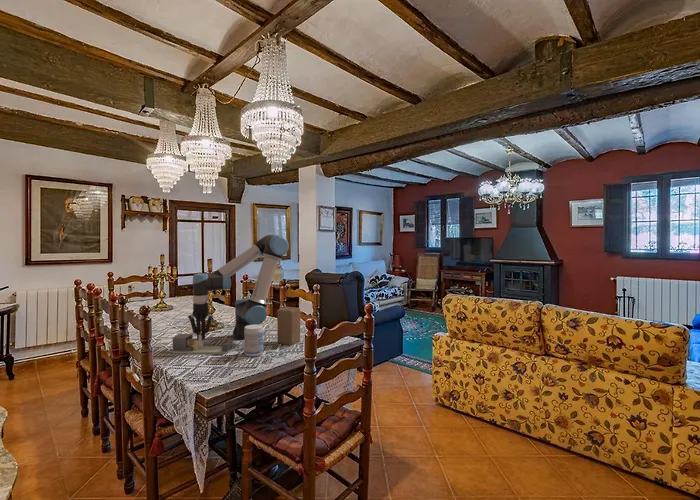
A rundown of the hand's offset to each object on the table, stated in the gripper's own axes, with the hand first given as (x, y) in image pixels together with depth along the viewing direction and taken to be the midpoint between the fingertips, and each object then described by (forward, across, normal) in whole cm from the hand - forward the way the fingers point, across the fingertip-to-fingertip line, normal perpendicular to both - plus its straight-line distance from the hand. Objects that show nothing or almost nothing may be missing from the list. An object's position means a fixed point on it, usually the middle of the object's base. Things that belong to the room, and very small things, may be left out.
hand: (201, 345), depth 193 cm
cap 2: (+2, -14, 0) cm, 14 cm away
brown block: (+2, +5, 0) cm, 5 cm away
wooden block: (+3, -45, -16) cm, 47 cm away
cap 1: (+2, +9, 0) cm, 9 cm away
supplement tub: (+3, -30, +4) cm, 30 cm away
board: (+3, 0, 0) cm, 3 cm away
